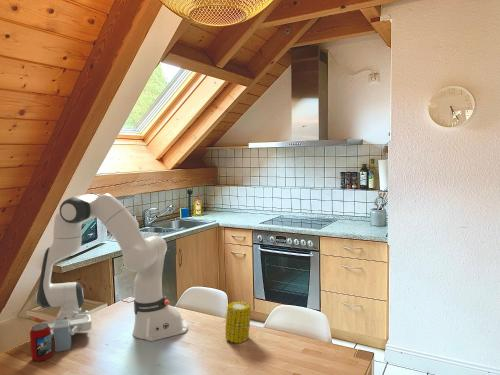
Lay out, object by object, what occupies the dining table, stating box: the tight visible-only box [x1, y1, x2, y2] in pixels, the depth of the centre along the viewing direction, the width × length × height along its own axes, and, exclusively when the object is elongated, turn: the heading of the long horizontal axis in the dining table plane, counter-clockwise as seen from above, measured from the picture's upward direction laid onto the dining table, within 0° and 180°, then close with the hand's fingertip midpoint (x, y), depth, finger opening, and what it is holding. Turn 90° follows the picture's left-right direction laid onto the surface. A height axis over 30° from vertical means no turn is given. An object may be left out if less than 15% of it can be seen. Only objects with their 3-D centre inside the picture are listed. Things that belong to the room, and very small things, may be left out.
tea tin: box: [53, 319, 72, 353], centre depth 156 cm, size 5×5×10 cm
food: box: [224, 300, 252, 344], centre depth 159 cm, size 15×12×10 cm
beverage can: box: [29, 322, 53, 362], centre depth 149 cm, size 7×7×12 cm
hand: (62, 334), depth 155 cm, fingers closed on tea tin, 5 cm apart
